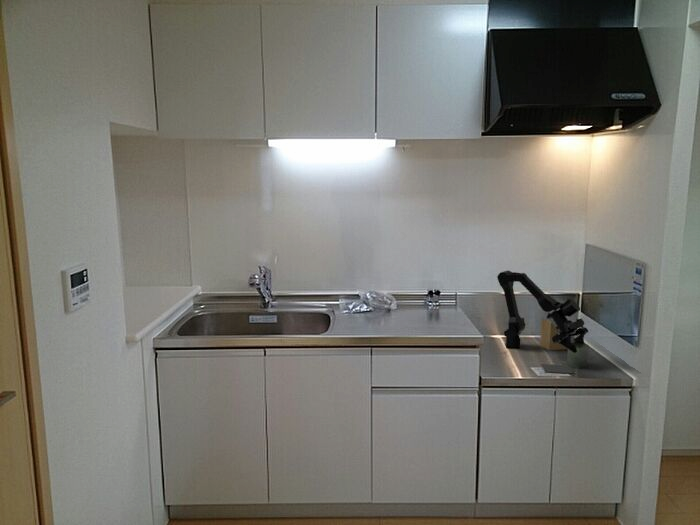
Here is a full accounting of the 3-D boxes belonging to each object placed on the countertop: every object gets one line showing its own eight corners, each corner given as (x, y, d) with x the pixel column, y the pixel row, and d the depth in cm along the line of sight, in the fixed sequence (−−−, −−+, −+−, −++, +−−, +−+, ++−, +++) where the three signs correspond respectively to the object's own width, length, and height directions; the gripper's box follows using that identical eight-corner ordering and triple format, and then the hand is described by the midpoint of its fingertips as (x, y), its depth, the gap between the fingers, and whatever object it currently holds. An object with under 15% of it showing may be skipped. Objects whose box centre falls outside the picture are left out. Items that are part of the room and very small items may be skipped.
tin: (566, 364, 228) (568, 343, 227) (575, 361, 231) (577, 341, 229) (577, 368, 223) (579, 347, 221) (586, 366, 226) (588, 345, 224)
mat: (545, 372, 219) (545, 371, 219) (541, 364, 228) (541, 363, 228) (573, 374, 217) (573, 373, 217) (568, 366, 225) (568, 365, 225)
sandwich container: (577, 348, 249) (579, 320, 246) (549, 350, 246) (550, 322, 244) (567, 343, 257) (568, 315, 254) (539, 345, 255) (541, 317, 252)
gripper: (558, 315, 222) (578, 346, 214) (586, 310, 231) (606, 339, 223) (543, 328, 230) (561, 357, 223) (571, 322, 239) (589, 351, 231)
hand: (580, 351), depth 225 cm, fingers closed on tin, 6 cm apart
